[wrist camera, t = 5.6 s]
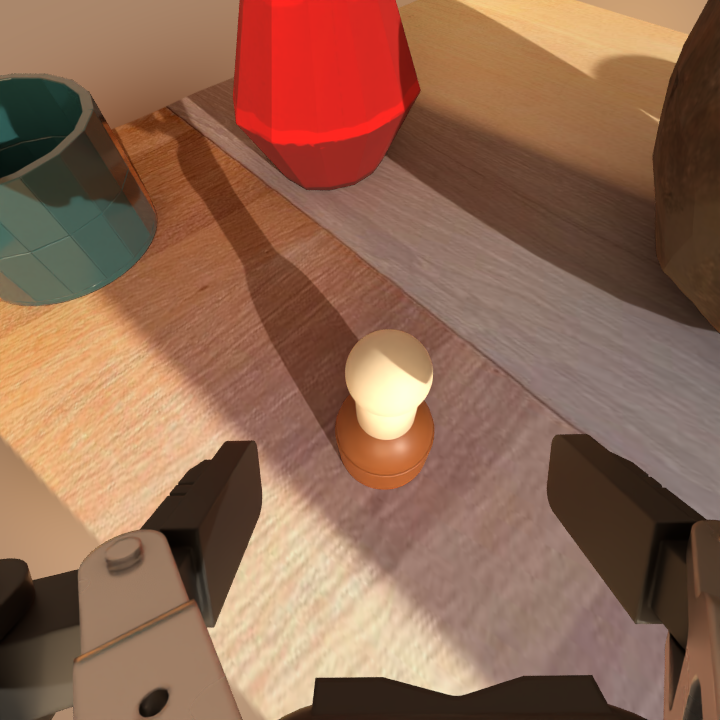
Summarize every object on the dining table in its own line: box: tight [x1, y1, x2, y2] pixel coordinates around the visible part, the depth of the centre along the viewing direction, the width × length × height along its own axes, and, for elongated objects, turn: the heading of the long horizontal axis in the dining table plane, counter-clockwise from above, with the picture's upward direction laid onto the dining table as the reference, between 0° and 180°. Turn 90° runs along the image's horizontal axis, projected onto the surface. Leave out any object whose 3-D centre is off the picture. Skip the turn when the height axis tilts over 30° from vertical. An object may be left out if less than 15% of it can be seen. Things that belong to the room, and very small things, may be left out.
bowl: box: [0, 74, 157, 306], centre depth 29 cm, size 14×15×9 cm
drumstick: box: [335, 329, 434, 490], centre depth 18 cm, size 5×5×11 cm
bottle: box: [233, 0, 421, 190], centre depth 28 cm, size 16×14×20 cm
